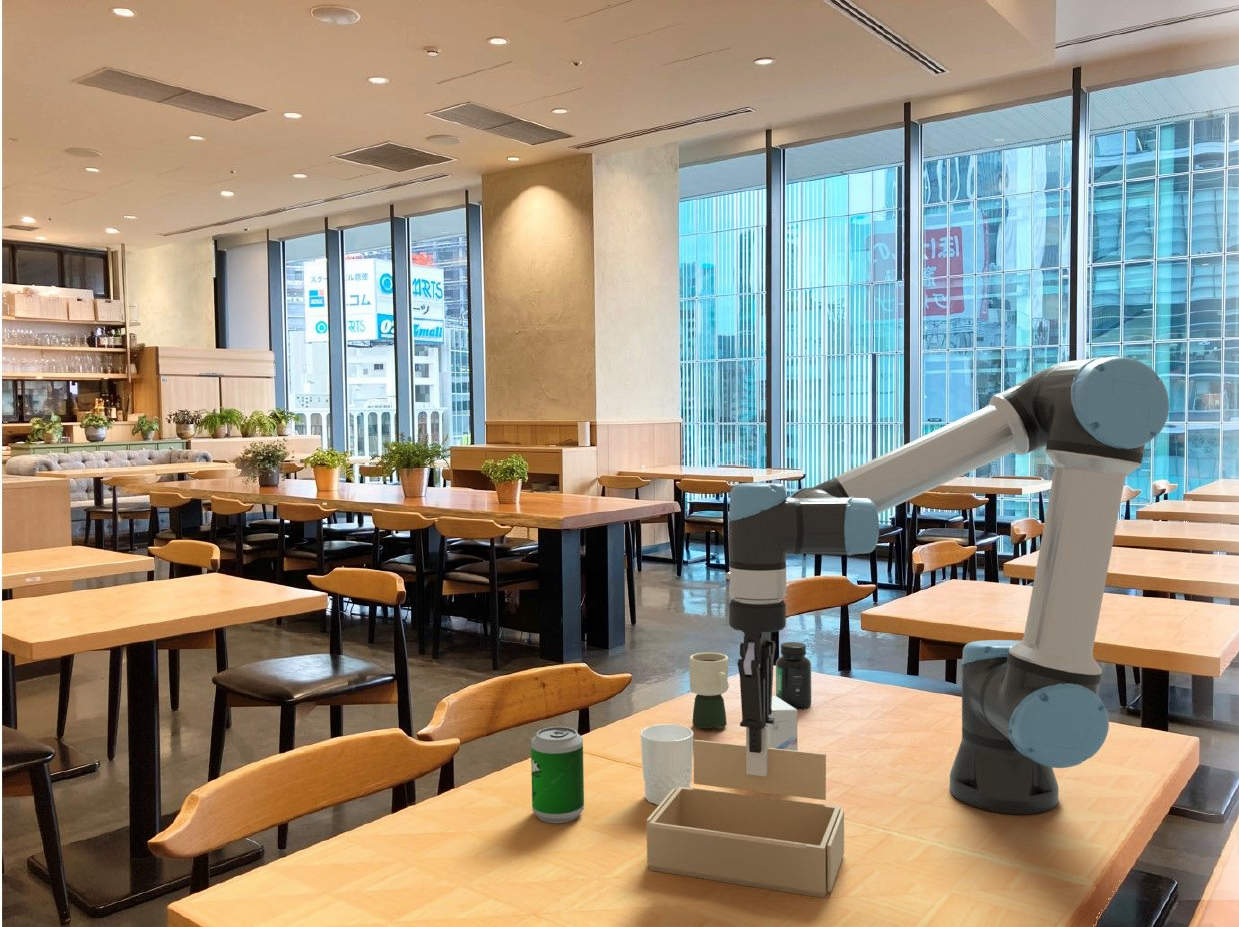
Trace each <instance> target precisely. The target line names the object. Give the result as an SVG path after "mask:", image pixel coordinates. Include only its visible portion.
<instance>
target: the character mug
mask: <svg viewBox="0 0 1239 927" xmlns="http://www.w3.org/2000/svg"><path fill="white" fill-rule="evenodd" d="M729 671H730V670H729V656H728V655H726V654H724V653H720V652H698V653H694V654H692V655H690V656H689V691H690V692H691V693H693V694H695V697H694V703H693V712H692V726H694V727H696V728H701V729H711V728H715V729H716V728H724V727H726V726H727V725H728V724H727V723H728V722H727V714H726V707H725V700H724V698H723V695H722V694H725V693H726V692H727V691H728V690H729V688H730V684H729V681H728V674H729Z"/></svg>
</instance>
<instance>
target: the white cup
mask: <svg viewBox="0 0 1239 927" xmlns="http://www.w3.org/2000/svg"><path fill="white" fill-rule="evenodd" d="M640 745H641V763H642V764H641V765H642V774H643V775H642V776H643V780H644V795H645V796H644V797H645V799H646V800H647V802H648V803H650V802H651V803H650V804H652V803H654V804H653V805H655V804H656V806H659V805H660V803H661V802H662V801H663V800H664V799H665V797H666V796H667V795H668V794H669V793H670V791H671V790H672V789H676V790H677V789H678V787H687V788H691V785H692V784H691V782H692V778H693V777H692V774H693V758H694V731H693V730H692V729H691V728H689V727H687V726H684V725H679V724H672V723H671V724H670V723H668V724H667V723H666V724H665V723H664V724H654V725H649V726H647V727H645V728H643V729H641V730H640Z"/></svg>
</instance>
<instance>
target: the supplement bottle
mask: <svg viewBox="0 0 1239 927" xmlns="http://www.w3.org/2000/svg"><path fill="white" fill-rule="evenodd" d="M780 655H781V656H780V657H778V658H777V660H776V661H775V696H777V697H778V698H780V699H781V700H783V701H784V702H786V703H787V704H789V705H790V706H792V707H794V708H795V709H802V710H806V709H809V708H810V707H811V705H812V662H811V661H810V659H809V658H808V657H806V655H807V646H806V644H805V643H803V642H797V641H796V642H795V641H787V642H781V644H780ZM808 707H809V708H808ZM805 708H806V709H805Z"/></svg>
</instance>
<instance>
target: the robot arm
mask: <svg viewBox="0 0 1239 927" xmlns="http://www.w3.org/2000/svg"><path fill="white" fill-rule="evenodd" d="M988 402H989V403H988V405H987V406H985V407H983V408H981V409H979V410H977V411H975V412H972V413H970V414H968V415H966V416H964V417H962V418H960V419H958V420H955V421H953V422H951V423H949V424H946V425H945V426H944V425H943V427H940V428H938V429H936V430H934V431H932V432H930V433H929V432H928V433H927V434H925V435H923V436H921V437H919V438H916V439H914V440H912V441H910V442H908V443H906V444H903V445H901V446H899V447H897V448H895V449H893V450H890V451H888V452H887V453H883V454H882V455H880V456H877V457H875V458H873V459H871V460H869V461H867V462H865V463H862V464H860V465H858V466H856V467H854V468H852V469H850V470H848V471H845V472H843V473H841V474H838V475H837V476H835V477H833V478H831V479H829V480H826V481H823V482H822V483H820V484H817V485H815V486H812V487H802V488H800V489H797V490H795V491H794V492H792V493H791V494H790V495H789V494H787V488H786V485H784V484H783V483H780V482H779V483H778V482H776V483H775V482H741V483H737V484H735V485H734V486H733V487H732V488H731V489H730V494H729V496H730V497H729V511H728V512H729V515H728V517H727V518H728V554H729V556H728V558H729V562H728V563H729V572H725V576H724V577H725V579H726V580H729V586H728V587H729V595H730V596H731V597H732V599H730V601H729V604H728V620H729V621H728V624H729V626H730V627H731V629H733V630H734V631H735V630H736V631H741V632H743V634H744V636H743V642H741V643H740V644H739V656H740V658H739V659H738V661H737V664H736V665H737V668H738V675H739V687H740V688H739V689H740V700H741V701H740V704H741V716H742V717H741V718H742V719H741V721H740V722H739V726H740V727H742V728H746V729H745V731H746V732H745V745H746V774H749V775H758V776H767V774H768V725H766V723H767V724H774V718H769V715H771V713H772V709H771V706H772V696H773V681H774V661H775V651H776V648H777V646H776V642H775V641H774V640H772V633H776V632H779V631H782V630H784V629H785V628H786V624H787V611H786V610H787V603H786V602H785V601H784V600H783V598H785V597H786V596H787V555H847V556H852V555H859V554H861V555H862V554H863V555H864V554H870V553H872V552H873V551H874V550H875V549H876V547H877V544H878V541H879V536H880V519H879V518H880V517H879V514H881V513H884V512H886V511H888V510H890V509H893V508H894V507H896V506H899V505H900V504H904V503H905V502H907V501H910V500H911V499H914V498H916V497H918V496H920V495H922V494H924V493H927V492H929V491H931V490H934V489H935V488H938V487H940V486H942V485H944V484H946V483H949V482H950V481H953V480H955V479H957V478H960V477H962V476H965V475H967V474H968V473H970V472H972V471H975V470H977V469H979V468H981V467H983V466H985V465H988V464H990V463H992V462H995V461H997V460H999V459H1001V458H1003V457H1005V456H1007V455H1010V454H1011V453H1012V454H1016V455H1019V456H1024V455H1027V454H1029V453H1031V452H1033V451H1036V450H1039V449H1041V448H1044V447H1045V454H1046V455H1047V457H1049V459H1050V461H1052V464H1053V465H1054V471H1053V475H1052V481H1051V485H1050V492H1049V497H1048V498H1049V499H1048V503H1047V506H1046V507H1047V508H1046V514H1045V520H1044V525H1043V530H1042V536H1041V541H1040V545H1039V552H1038V558H1037V563H1036V568H1035V575H1034V580H1033V584H1032V585H1033V586H1032V590H1031V595H1030V601H1029V607H1028V612H1027V616H1026V621H1025V628H1024V633H1023V638H1022V640H1011V639H1008V640H1007V639H989V640H977V641H975V640H974V641H971V642H968V643H967V644H965V645H964V647H963V649H962V659H961V662H960V668H961V730H962V731H961V742H960V744H959V747H958V750H957V753H956V755H955V759H954V761H953V764H952V766H951V769H950V771H949V772H950V773H949V791H950V793H951V794H952V795H953V797H955V798H956V799H957V800H959V801H960V802H963V803H965V804H967V805H969V806H972V807H974V808H977V809H980V810H981V809H982V810H985V811H990V812H995V813H1002V814H1010V815H1031V814H1040V813H1044V812H1045V813H1046V812H1048V811H1051V810H1053V809H1054V808H1056V806H1058V803H1059V784H1058V781H1057V778H1056V774H1055V772H1054V769H1065V768H1066V769H1067V768H1072V767H1076V766H1078V765H1081V764H1082V763H1084V762H1085V761H1087V760H1089V759H1091V758H1092V757H1094V756H1095V755H1096V754H1097V753H1098V752H1099V751H1100V749H1101V748H1102V747H1103V745H1104V743H1105V742H1106V739H1107V736H1108V733H1109V730H1110V729H1109V728H1110V721H1109V720H1110V718H1109V714H1108V710H1107V708H1106V707H1105V705H1104V704H1105V703H1104V702H1103V701H1102V699H1101V698H1100V696H1099V695H1098V694H1099V690H1100V685H1101V678H1102V674H1103V673H1102V672H1103V669H1102V667H1101V666H1100V664H1099V663H1098V662H1097V661H1096V659H1095V658H1094V656H1093V649H1094V646H1095V641H1096V640H1095V639H1096V635H1097V629H1098V624H1099V619H1100V613H1101V609H1102V603H1103V597H1104V592H1105V587H1106V582H1107V576H1108V572H1109V567H1110V565H1109V564H1110V560H1111V555H1112V549H1113V546H1114V545H1113V544H1114V539H1115V534H1116V528H1117V524H1118V519H1119V518H1118V517H1119V512H1120V506H1121V503H1122V496H1123V491H1124V486H1125V480H1126V478H1127V476H1128V475H1130V474H1131V473H1133V472H1134V471H1136V470H1137V469H1139V468H1140V467H1141V466H1142V461H1143V457H1144V452H1145V446H1146V444H1148V443H1150V442H1151V441H1152V440H1153V439H1154V438H1155V437H1157V436H1158V435H1159V434H1160V433H1161V432H1162V430H1163V428H1164V426H1165V425H1166V423H1167V420H1168V417H1169V411H1170V399H1169V394H1168V391H1167V388H1166V385H1165V384H1164V382H1163V380H1162V379H1161V378H1160V377H1159V375H1158V374H1157V373H1156V371H1154V369H1153V368H1152V367H1150V366H1149V365H1147V364H1145V363H1144V362H1142V361H1140V360H1137V359H1135V358H1130V357H1123V356H1116V355H1115V356H1110V355H1109V356H1108V355H1101V356H1098V357H1095V358H1089V359H1087V358H1086V359H1079V360H1069V361H1068V360H1067V361H1063V362H1059V363H1055V364H1053V365H1051V366H1049V367H1047V368H1045V369H1042V370H1040V371H1039V372H1037V373H1036V374H1033V375H1032V376H1030V377H1028V378H1026V379H1024V380H1022V381H1021V382H1018V383H1017V384H1014V385H1013V386H1010V387H1009V388H1007V389H1006V390H1005V389H1004V390H1003V391H1001V392H999V393H996V394H994V395H992V396H991V397H990V400H989V401H988ZM788 495H789V496H788Z"/></svg>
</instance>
